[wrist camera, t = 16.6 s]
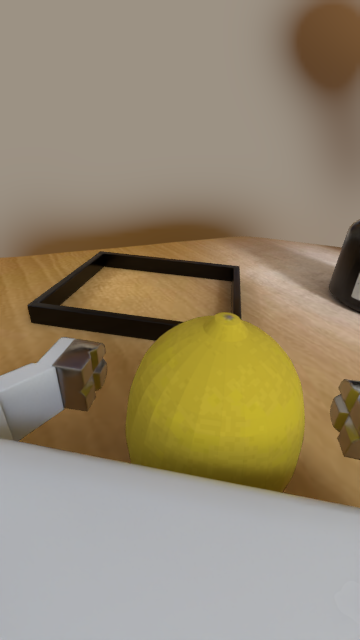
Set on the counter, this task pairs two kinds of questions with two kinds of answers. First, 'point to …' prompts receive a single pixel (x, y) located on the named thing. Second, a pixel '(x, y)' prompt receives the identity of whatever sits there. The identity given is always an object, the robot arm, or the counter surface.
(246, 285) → the counter surface
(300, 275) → the counter surface
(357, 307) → the ink bottle
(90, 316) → the black square frame
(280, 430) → the lemon
